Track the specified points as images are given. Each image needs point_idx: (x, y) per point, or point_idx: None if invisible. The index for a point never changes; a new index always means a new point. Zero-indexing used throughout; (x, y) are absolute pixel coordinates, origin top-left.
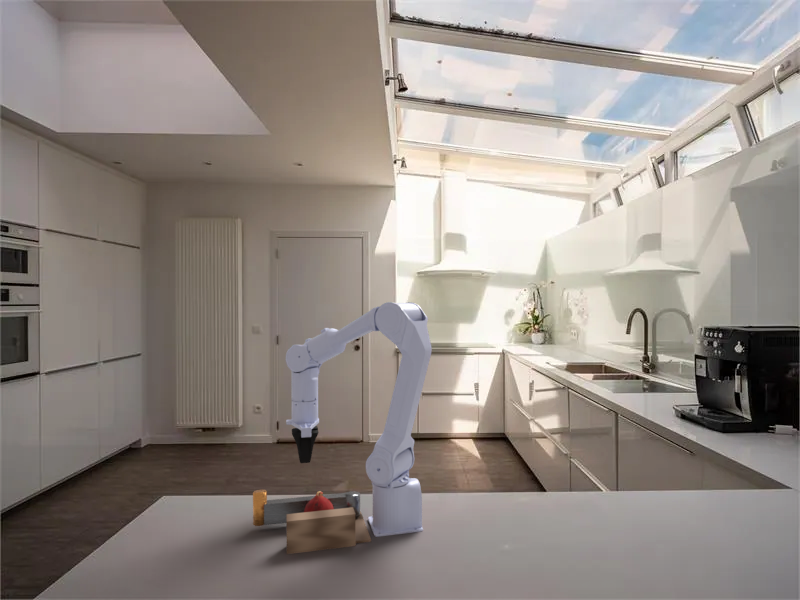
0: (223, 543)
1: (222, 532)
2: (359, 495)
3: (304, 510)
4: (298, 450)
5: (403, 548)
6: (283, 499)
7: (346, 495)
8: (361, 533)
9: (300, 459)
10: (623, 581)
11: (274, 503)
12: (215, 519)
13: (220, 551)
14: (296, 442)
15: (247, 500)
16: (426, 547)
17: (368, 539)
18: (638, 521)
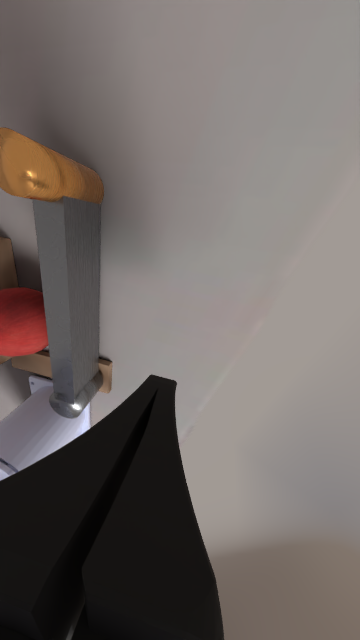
0: (41, 76)
1: (103, 68)
2: (58, 413)
3: (3, 295)
4: (110, 413)
5: (3, 388)
6: (61, 258)
7: (60, 395)
8: (30, 363)
9: (141, 385)
10: None
11: (36, 225)
12: (206, 27)
13: (2, 68)
14: (51, 454)
15: (314, 169)
16: (5, 408)
17: (12, 363)
18: None
